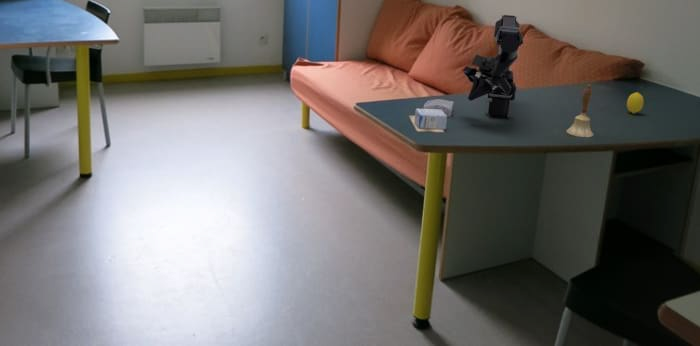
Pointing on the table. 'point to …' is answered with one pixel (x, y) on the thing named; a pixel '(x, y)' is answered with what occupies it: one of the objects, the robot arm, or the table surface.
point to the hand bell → (582, 118)
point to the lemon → (635, 102)
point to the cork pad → (423, 128)
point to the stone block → (440, 106)
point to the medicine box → (430, 118)
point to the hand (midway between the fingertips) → (469, 99)
